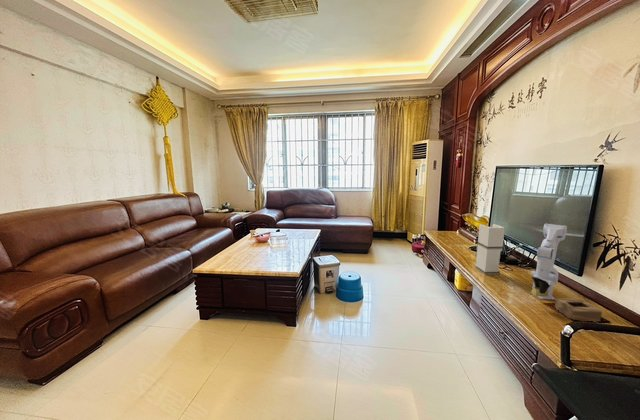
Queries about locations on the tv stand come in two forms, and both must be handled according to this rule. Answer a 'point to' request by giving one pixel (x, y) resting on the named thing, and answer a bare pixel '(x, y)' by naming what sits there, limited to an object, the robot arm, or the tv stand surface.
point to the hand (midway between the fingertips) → (540, 291)
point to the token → (538, 292)
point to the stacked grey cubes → (489, 249)
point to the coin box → (577, 309)
